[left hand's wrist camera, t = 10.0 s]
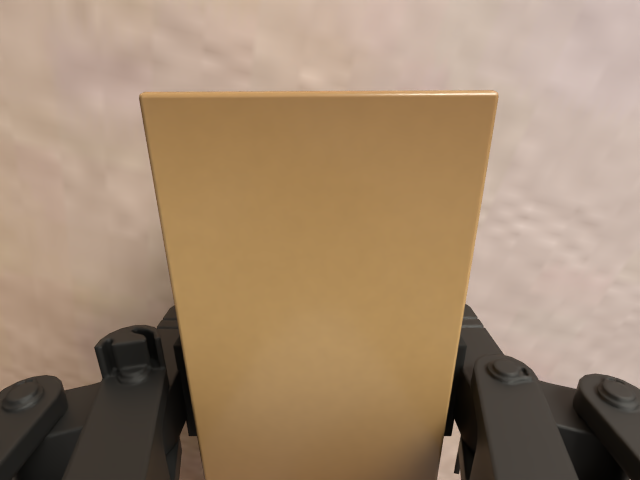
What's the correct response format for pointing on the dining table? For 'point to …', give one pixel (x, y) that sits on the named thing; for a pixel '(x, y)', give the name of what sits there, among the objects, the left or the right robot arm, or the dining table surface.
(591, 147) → the dining table surface
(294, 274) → the bar
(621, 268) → the dining table surface
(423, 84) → the dining table surface
